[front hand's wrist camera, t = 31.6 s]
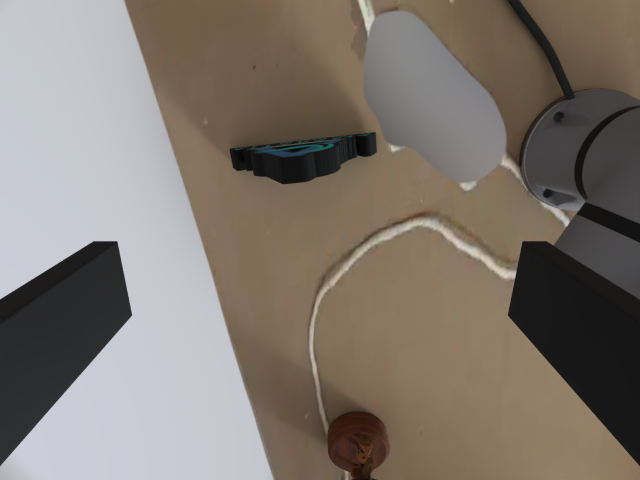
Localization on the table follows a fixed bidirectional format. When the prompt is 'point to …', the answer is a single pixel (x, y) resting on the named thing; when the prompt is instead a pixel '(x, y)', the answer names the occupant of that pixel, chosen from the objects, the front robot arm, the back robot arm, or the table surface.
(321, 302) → the table surface
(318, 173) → the decorative sign
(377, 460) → the brown wooden figurine
